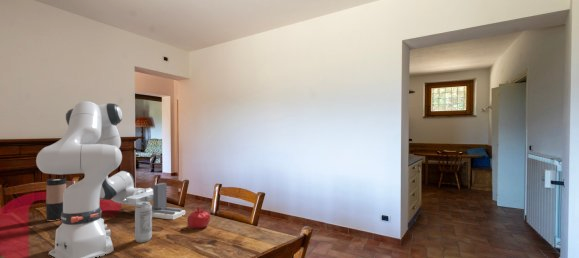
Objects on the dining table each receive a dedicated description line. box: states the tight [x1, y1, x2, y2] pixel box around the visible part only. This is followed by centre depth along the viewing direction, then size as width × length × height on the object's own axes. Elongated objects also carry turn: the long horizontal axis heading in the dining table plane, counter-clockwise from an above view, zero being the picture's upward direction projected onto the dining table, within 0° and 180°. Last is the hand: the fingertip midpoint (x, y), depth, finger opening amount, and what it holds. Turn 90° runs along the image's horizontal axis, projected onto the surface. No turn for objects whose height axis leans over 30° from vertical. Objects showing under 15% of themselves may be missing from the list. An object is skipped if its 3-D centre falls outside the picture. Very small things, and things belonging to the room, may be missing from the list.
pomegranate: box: [186, 206, 211, 230], centre depth 125 cm, size 10×10×9 cm
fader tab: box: [152, 182, 168, 210], centre depth 143 cm, size 5×6×14 cm
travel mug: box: [45, 177, 67, 221], centre depth 135 cm, size 8×8×20 cm
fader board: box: [152, 205, 186, 220], centre depth 142 cm, size 21×9×3 cm, turn 72°
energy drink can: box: [134, 201, 153, 244], centre depth 109 cm, size 6×6×15 cm
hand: (157, 198), depth 143 cm, fingers closed, pressing on fader tab
